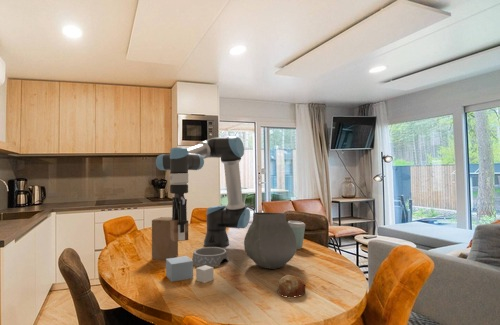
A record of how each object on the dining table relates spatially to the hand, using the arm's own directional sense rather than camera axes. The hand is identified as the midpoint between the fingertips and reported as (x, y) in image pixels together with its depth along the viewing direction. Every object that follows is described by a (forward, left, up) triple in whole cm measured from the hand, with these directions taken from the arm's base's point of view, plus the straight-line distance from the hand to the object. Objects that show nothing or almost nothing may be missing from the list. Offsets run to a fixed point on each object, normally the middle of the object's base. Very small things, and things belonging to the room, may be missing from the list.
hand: (179, 238), depth 131 cm
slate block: (0, 0, -16) cm, 16 cm away
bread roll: (-31, +37, -16) cm, 51 cm away
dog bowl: (-20, -15, -16) cm, 30 cm away
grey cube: (-8, +9, -16) cm, 20 cm away
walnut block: (0, 0, 0) cm, 0 cm away
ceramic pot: (-41, +7, -16) cm, 45 cm away
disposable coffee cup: (-72, -14, -16) cm, 75 cm away
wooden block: (-2, -33, -16) cm, 37 cm away
